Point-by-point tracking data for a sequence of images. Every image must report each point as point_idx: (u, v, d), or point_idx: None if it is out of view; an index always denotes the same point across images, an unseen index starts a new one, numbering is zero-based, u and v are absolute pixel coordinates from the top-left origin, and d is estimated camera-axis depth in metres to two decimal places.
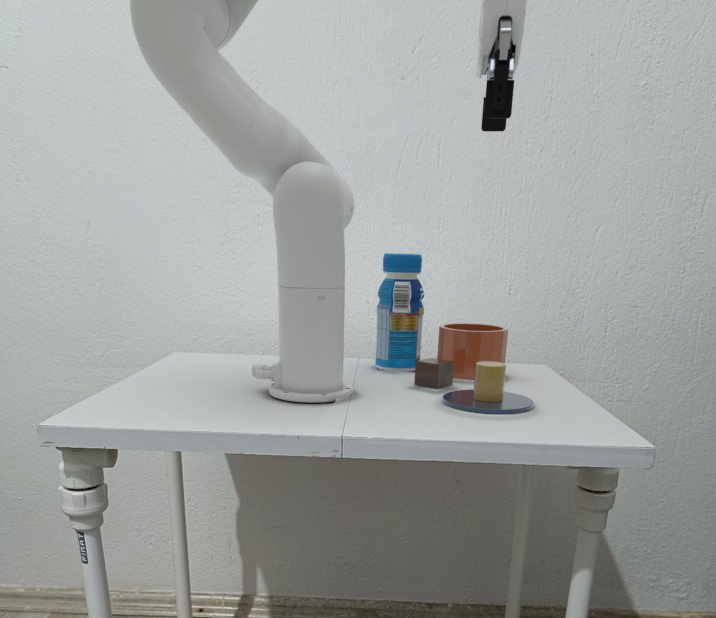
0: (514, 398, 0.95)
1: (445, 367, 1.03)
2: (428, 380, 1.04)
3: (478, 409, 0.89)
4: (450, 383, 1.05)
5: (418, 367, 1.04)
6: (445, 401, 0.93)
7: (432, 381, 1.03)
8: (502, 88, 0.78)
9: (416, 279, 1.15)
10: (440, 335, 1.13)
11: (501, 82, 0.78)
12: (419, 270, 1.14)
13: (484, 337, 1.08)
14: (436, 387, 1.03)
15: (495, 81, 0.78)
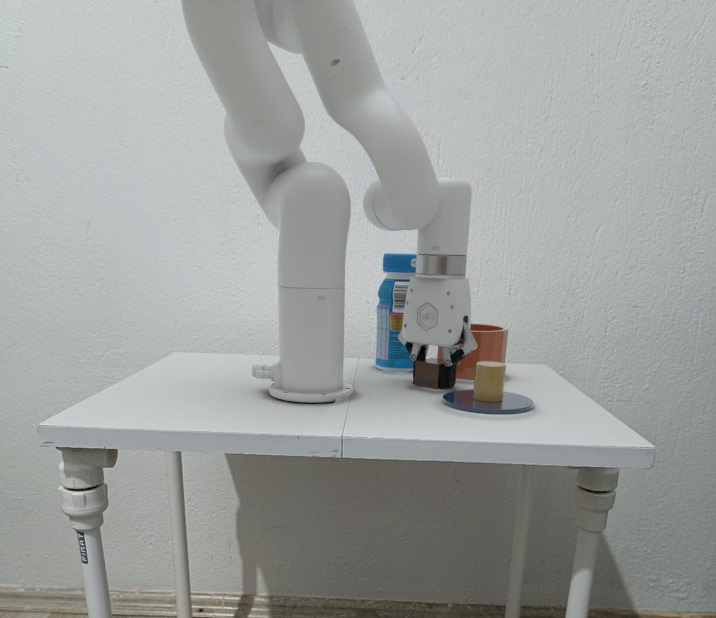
0: (514, 398, 0.95)
1: None
2: (428, 380, 1.04)
3: (478, 409, 0.89)
4: None
5: (418, 367, 1.04)
6: (445, 401, 0.93)
7: (432, 381, 1.03)
8: (454, 371, 1.03)
9: None
10: None
11: (454, 368, 1.03)
12: None
13: (484, 337, 1.08)
14: (436, 387, 1.03)
15: (451, 367, 1.02)
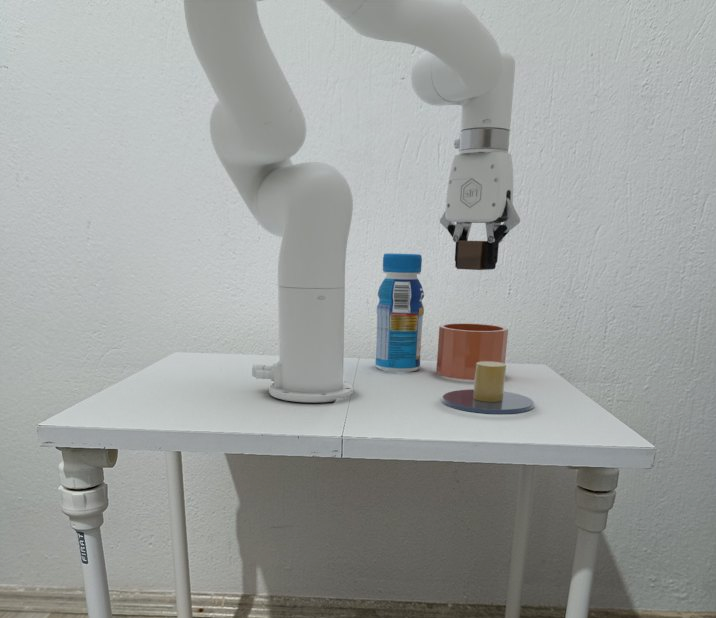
0: (514, 398, 0.95)
1: None
2: (471, 258, 1.07)
3: (478, 409, 0.89)
4: None
5: (461, 247, 1.07)
6: (445, 401, 0.93)
7: (475, 259, 1.06)
8: (496, 249, 1.06)
9: (416, 279, 1.15)
10: (440, 335, 1.13)
11: (496, 245, 1.06)
12: (419, 270, 1.14)
13: (484, 337, 1.08)
14: (479, 264, 1.06)
15: (494, 244, 1.05)
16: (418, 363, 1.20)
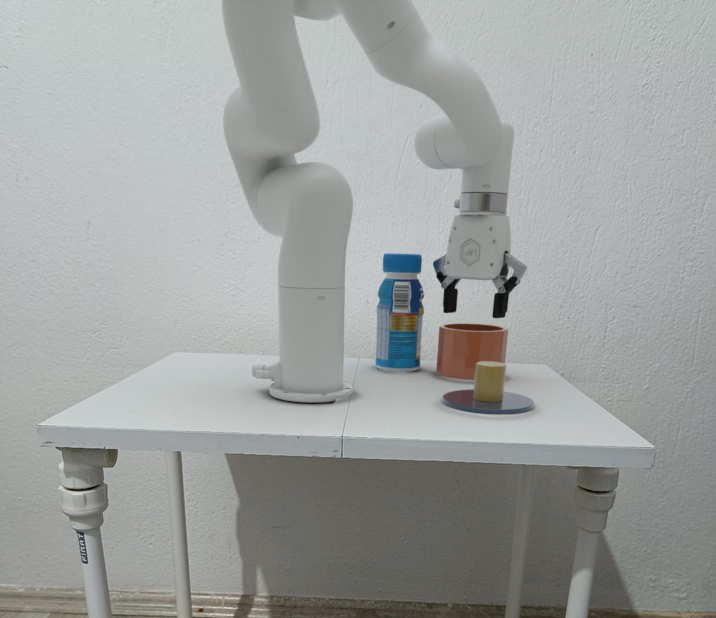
0: (514, 398, 0.95)
1: None
2: None
3: (478, 409, 0.89)
4: None
5: None
6: (445, 401, 0.93)
7: None
8: (506, 299, 1.08)
9: (416, 279, 1.15)
10: (440, 335, 1.13)
11: (506, 295, 1.08)
12: (419, 270, 1.14)
13: (484, 337, 1.08)
14: None
15: (504, 295, 1.08)
16: (418, 363, 1.20)
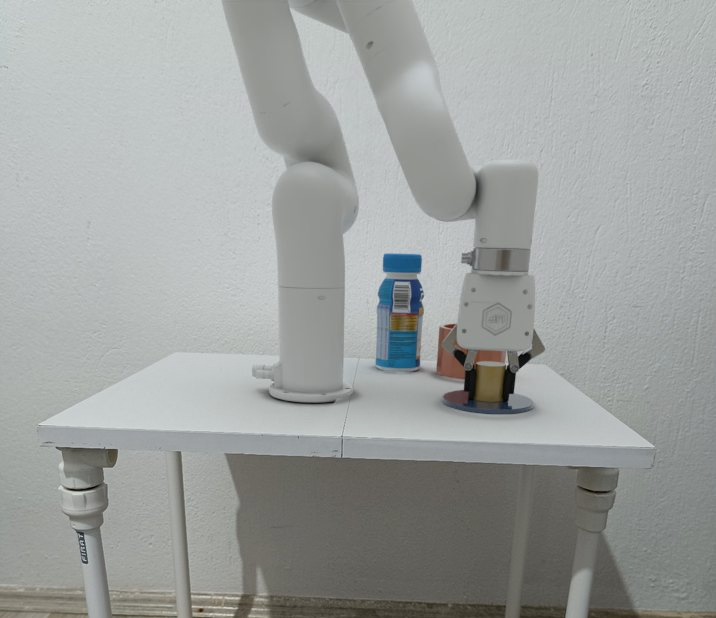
0: (514, 398, 0.95)
1: None
2: None
3: (478, 409, 0.89)
4: None
5: None
6: (445, 401, 0.93)
7: None
8: None
9: (416, 279, 1.15)
10: (440, 335, 1.13)
11: None
12: (419, 270, 1.14)
13: None
14: None
15: (515, 374, 0.92)
16: (418, 363, 1.20)
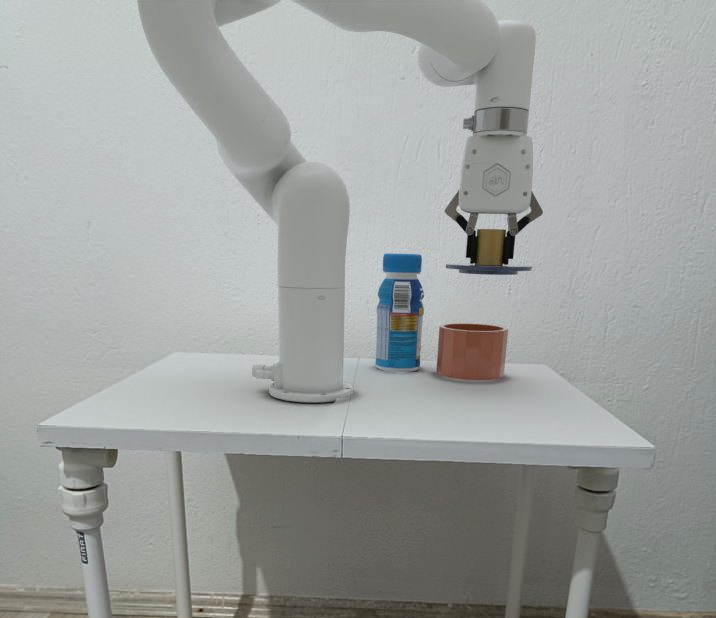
0: (514, 265, 1.00)
1: None
2: None
3: (478, 267, 0.94)
4: None
5: None
6: (448, 265, 0.98)
7: None
8: None
9: (416, 279, 1.15)
10: (440, 335, 1.13)
11: None
12: (419, 270, 1.14)
13: (484, 337, 1.08)
14: None
15: None
16: (418, 363, 1.20)
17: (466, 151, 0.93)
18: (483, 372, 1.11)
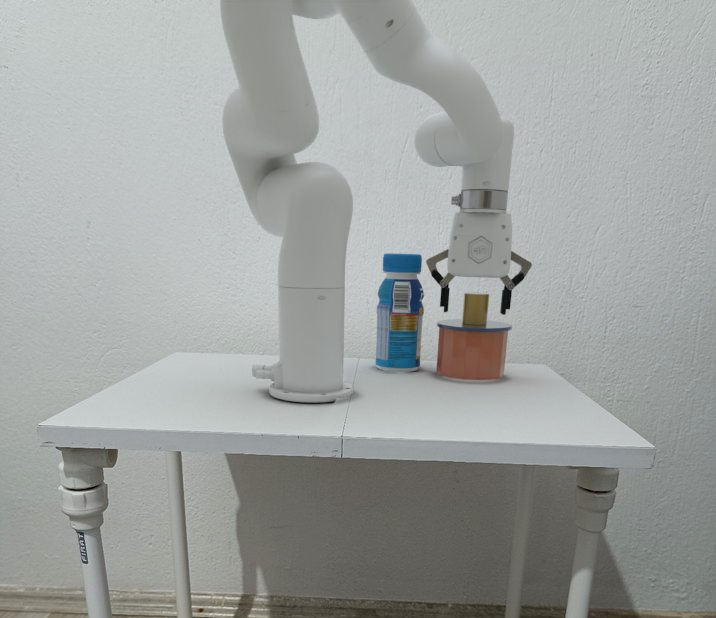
0: (496, 323, 1.14)
1: None
2: None
3: (466, 328, 1.08)
4: None
5: None
6: (439, 324, 1.12)
7: None
8: None
9: (416, 279, 1.15)
10: (440, 335, 1.13)
11: None
12: (419, 270, 1.14)
13: (484, 337, 1.08)
14: None
15: (511, 291, 1.10)
16: (418, 363, 1.20)
17: (454, 224, 1.07)
18: (483, 372, 1.11)
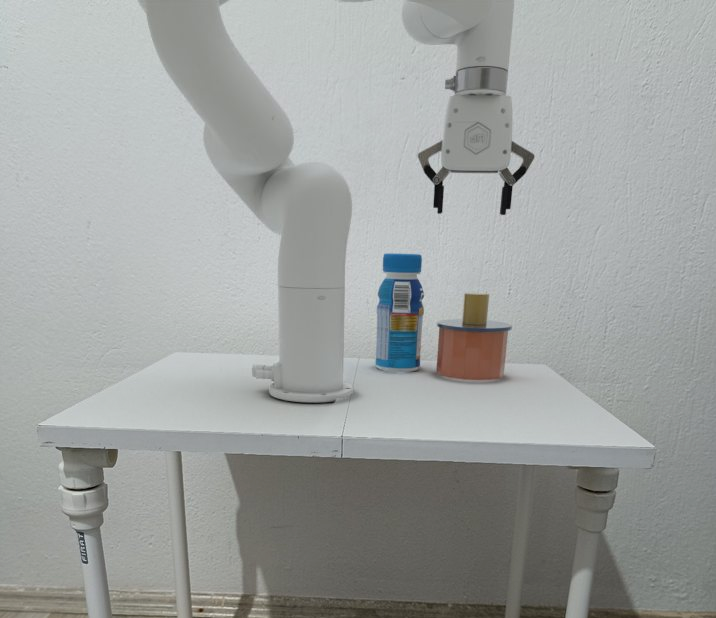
0: (496, 323, 1.14)
1: None
2: None
3: (466, 328, 1.08)
4: None
5: None
6: (439, 324, 1.12)
7: None
8: None
9: (416, 279, 1.15)
10: (440, 335, 1.13)
11: None
12: (419, 270, 1.14)
13: (484, 337, 1.08)
14: None
15: None
16: (418, 363, 1.20)
17: (448, 110, 0.96)
18: (483, 372, 1.11)
